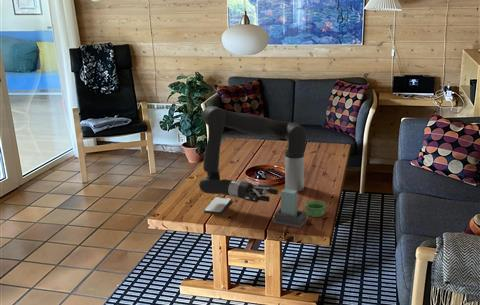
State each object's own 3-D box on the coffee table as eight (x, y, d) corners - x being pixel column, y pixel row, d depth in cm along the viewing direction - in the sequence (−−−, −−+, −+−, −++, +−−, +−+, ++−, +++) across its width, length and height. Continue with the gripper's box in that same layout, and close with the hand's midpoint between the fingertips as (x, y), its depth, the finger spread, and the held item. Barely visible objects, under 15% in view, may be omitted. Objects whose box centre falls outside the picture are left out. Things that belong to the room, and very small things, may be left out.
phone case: (221, 215, 234) (232, 201, 248) (221, 212, 233) (232, 198, 247) (203, 213, 236) (215, 199, 251) (202, 210, 236) (215, 196, 250)
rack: (280, 214, 231) (280, 206, 230) (308, 219, 225) (308, 211, 224) (272, 222, 224) (272, 213, 223) (300, 228, 218) (300, 219, 217)
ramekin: (301, 214, 231) (301, 205, 230) (312, 207, 237) (312, 198, 236) (318, 219, 225) (318, 210, 224) (329, 212, 232) (329, 203, 230)
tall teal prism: (284, 216, 227) (284, 188, 223) (297, 218, 224) (297, 190, 220) (281, 219, 224) (280, 191, 220) (293, 221, 221) (293, 193, 217)
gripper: (232, 187, 225) (266, 193, 218) (247, 176, 237) (280, 182, 230) (233, 203, 228) (266, 209, 220) (248, 192, 240) (280, 197, 232)
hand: (273, 195), depth 225 cm, fingers open, 8 cm apart
